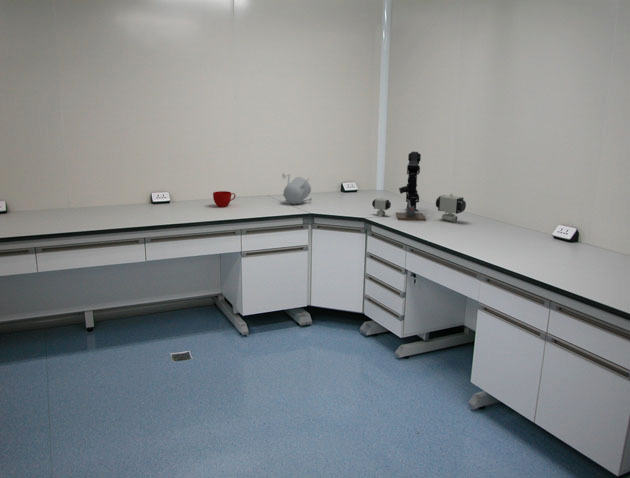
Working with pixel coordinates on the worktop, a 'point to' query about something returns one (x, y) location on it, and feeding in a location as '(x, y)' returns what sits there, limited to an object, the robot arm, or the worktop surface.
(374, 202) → the pneumatic valve
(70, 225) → the worktop surface
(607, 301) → the worktop surface
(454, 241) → the worktop surface
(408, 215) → the post stand
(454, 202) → the ball valve
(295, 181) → the satellite
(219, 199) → the ceramic cup
